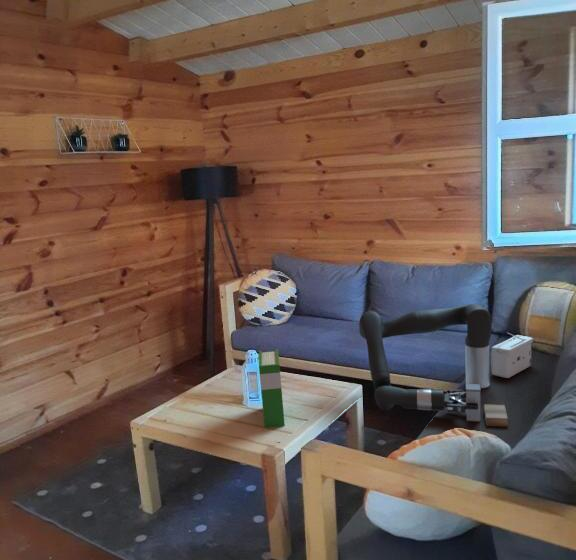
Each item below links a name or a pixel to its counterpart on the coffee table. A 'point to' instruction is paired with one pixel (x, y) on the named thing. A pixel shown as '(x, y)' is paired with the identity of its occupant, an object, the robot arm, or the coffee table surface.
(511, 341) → the stereo radio cassette player
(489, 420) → the stand
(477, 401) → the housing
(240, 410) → the coffee table surface
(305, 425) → the coffee table surface
